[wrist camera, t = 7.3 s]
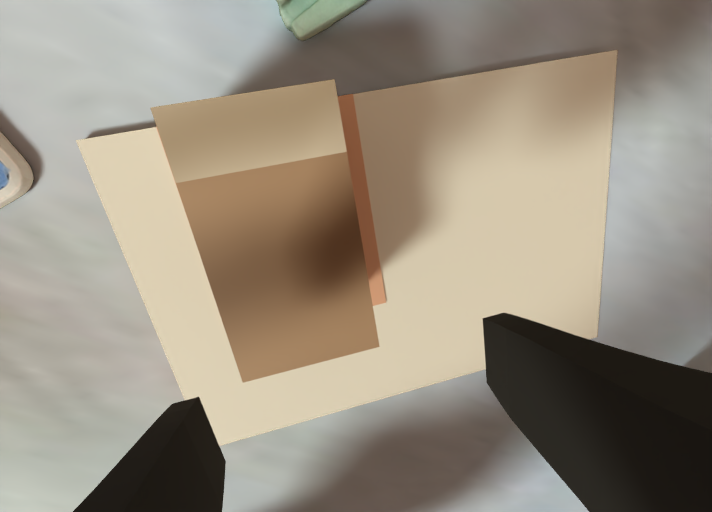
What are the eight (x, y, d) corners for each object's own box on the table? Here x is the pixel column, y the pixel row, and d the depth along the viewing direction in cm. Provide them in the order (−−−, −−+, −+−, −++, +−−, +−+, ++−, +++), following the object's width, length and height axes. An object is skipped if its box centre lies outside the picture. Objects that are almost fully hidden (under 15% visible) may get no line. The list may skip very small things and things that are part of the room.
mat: (207, 442, 19) (205, 451, 19) (82, 140, 14) (74, 140, 13) (590, 332, 22) (598, 337, 22) (608, 52, 17) (619, 49, 16)
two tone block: (354, 292, 18) (379, 346, 13) (254, 316, 17) (242, 382, 12) (318, 100, 15) (334, 78, 10) (195, 120, 14) (150, 107, 9)
